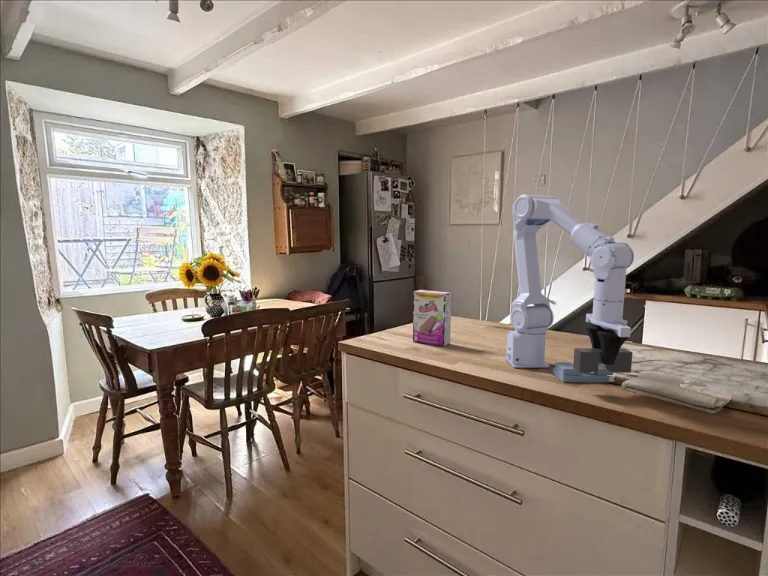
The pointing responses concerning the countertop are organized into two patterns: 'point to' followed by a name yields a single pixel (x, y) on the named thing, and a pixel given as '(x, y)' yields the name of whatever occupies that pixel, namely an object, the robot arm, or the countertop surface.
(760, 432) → the countertop surface
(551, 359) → the countertop surface
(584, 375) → the display stand
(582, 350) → the dark grey rectangular block
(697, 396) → the washcloth
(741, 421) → the countertop surface
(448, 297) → the candy bar box
